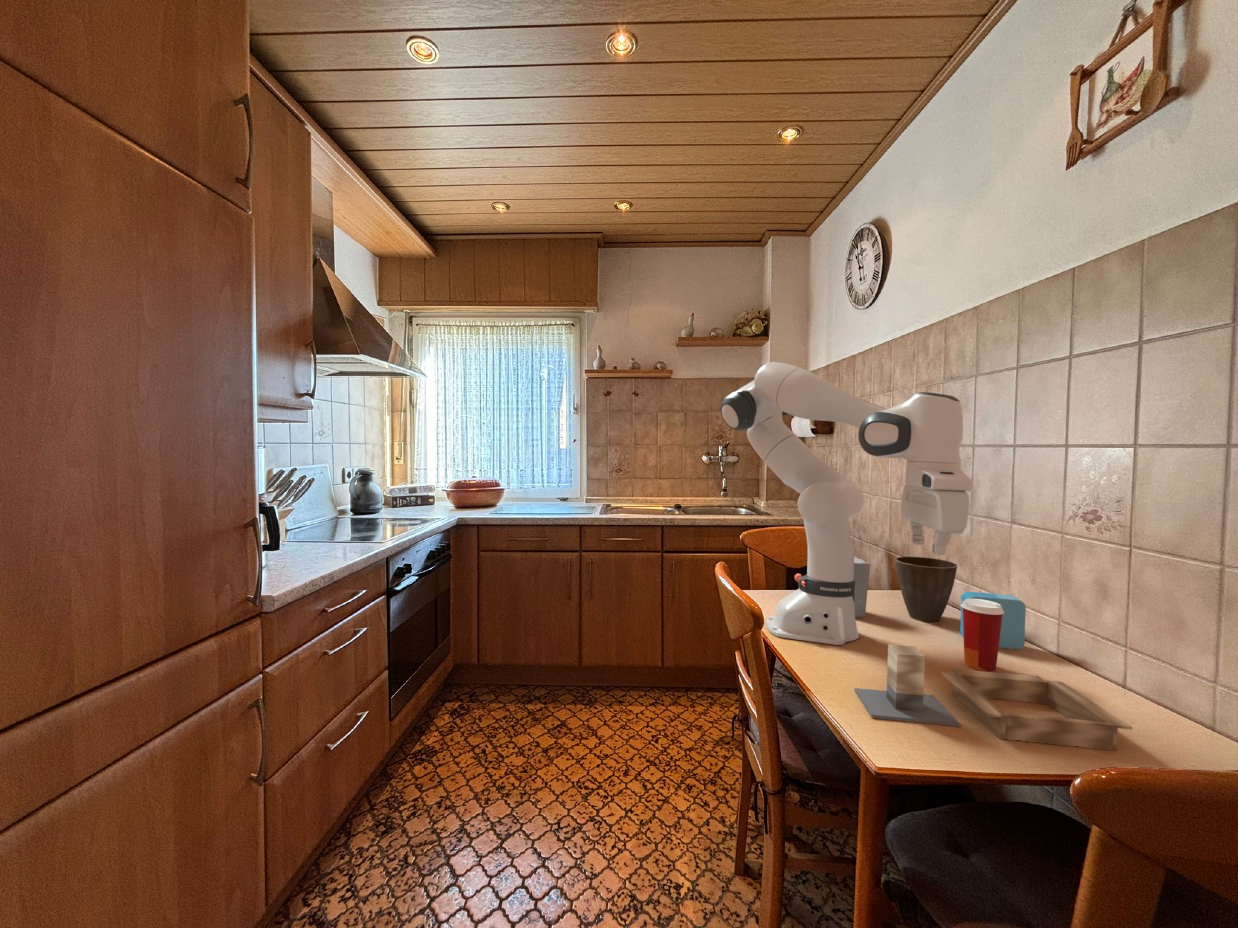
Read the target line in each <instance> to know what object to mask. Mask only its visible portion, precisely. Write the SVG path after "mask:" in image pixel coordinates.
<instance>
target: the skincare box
mask: <svg viewBox="0 0 1238 928" xmlns="http://www.w3.org/2000/svg"><path fill="white" fill-rule="evenodd" d="M870 568H871V564H870V563H869V562H867V561H864V559H860V558H858V557H855V556H854V580H855V585H856V595H855V601H854V613H855V618H857V617H859V618H861V617H862V618H865V617H866V612H867V611H866V610H867V609H866V608H867V600H868V599H867V598H868V588H869V579H870V578H869V577H870Z"/></svg>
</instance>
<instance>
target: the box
mask: <svg viewBox="0 0 1238 928" xmlns="http://www.w3.org/2000/svg"><path fill="white" fill-rule="evenodd" d="M925 659H926V655H925V654H924V653H922V652H921V651H920V650H919V648H917V647H915V646H914V645H913V646H912V645H903V644H902V645H900V644H887V666H886V669H887V670H886V671H887V672H886V673H887V674H886V691H887V694H886V697H887V699H888V700H889V701H890V703H891V704H892V705H893V707H894V708H895V709H897V710H907V711H918V712H923V695H924V694H925V693H924V692H925V690H924V689H925V664H926V660H925Z"/></svg>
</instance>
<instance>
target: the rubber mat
mask: <svg viewBox="0 0 1238 928" xmlns="http://www.w3.org/2000/svg"><path fill="white" fill-rule="evenodd" d="M854 692H855V694H856V696H857V697H858V699H859V701H860V702H861V703H862V705H863V706H864V708H865V710H866V711H867V713H868V715H869V716H870V717H871V718H872V719H878V720H879V719H880V720H887V721H889V720H890V721H899V722H909V723H919V724H929V725H939V726H940V725H941V726H948V727H950V726H951V727H959V726H961V723H960V722H959V721H958V720H957V718H955V715H953V714H952V713H951V712H950V711H949V710H948V709H947V708H946V707H945V705H943V704H942V702H940V701H939V699H937V698H936V696H935V695H933V694H925V693H924V695H923V712H918V711H907V710H897V709H895V708H894V707H893V705H892V704H891V703H890V701H889V700H888V699H887V697H886V694H887V690H883V689H882V690H881V689H880V690H879V689H872V688H871V689H870V688H869V689H868V688H859V687H856V688H855V687H854Z"/></svg>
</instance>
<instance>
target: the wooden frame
mask: <svg viewBox="0 0 1238 928" xmlns="http://www.w3.org/2000/svg"><path fill="white" fill-rule="evenodd" d="M941 672H942V673H941V674H942V676H944V677H945V678H946V680H948V682H950V683H951V684H952V694H953V696H955V697H956V698H957V699H958V700H959V701H960V703H962V702H963V703H962V704H963V705H964V704H965V705H966V706H965V705H964V706H965V707H966V708H967V707H968V708H969V709H970V710H971V711H972V712H973V713H972V712H971V713H972V714H973V715H974V716H975V717H977V718H978V719H979V720H980V721H981V722H982V723H983V724H984V725H985V726H986V727H987V726H988V727H987V728H988V729H989V730H990V731H991V732H992V733H993V734H994V735H995V736H996V737H997V736H998V737H997V738H999V740H1005V739H1008V741H1015V740H1022V741H1021V742H1025V741H1029V743H1035V742H1041V743H1040V744H1045V743H1051V744H1050V745H1055V744H1056V745H1058V746H1065V745H1066V746H1067V747H1075V746H1079V747H1078V748H1086V749H1087V748H1088V749H1097V750H1104V751H1105V750H1106V751H1107V750H1108V751H1116V752H1117V751H1118V748H1117V747H1118V730H1119V729H1121V730H1122V729H1123V730H1133V726H1132V725H1130V724H1128V723H1127V722H1126V721H1123V720H1122V719H1121V718H1119V717H1118V716H1116V715H1115V714H1113V713H1111V712H1110V711H1108V710H1107V709H1105V708H1103V707H1102V706H1100V705H1099V704H1098V703H1095V702H1094V701H1092V700H1091V699H1089V698H1088V697H1087V696H1085V695H1083V694H1082V693H1080V692H1078V691H1077V690H1075V689H1074V688H1073V687H1071V686H1069V685H1068V684H1066V683H1065V682H1063V681H1054V680H1045V679H1043V678H1042V677H1041V676H1039V675H1033V674H1032V675H1030V674H1021V673H1020V674H1018V673H1009V672H1008V673H1006V672H994V671H992V672H987V671H980V670H969V669H959V668H958V669H957V668H956V669H955V668H953V669H952V672H944V671H941ZM990 699H993V700H1002V701H1014V702H1025V703H1026V702H1027V703H1037V704H1046V705H1048V706H1050V708H1052V709H1054V710H1055V711H1057V712H1058V713H1059V714H1060V715H1062V716H1063V717H1053V716H1042V715H1032V714H1022V713H1009V712H1004V711H1002V710H1001V709H1000V708H999V707H997V705H995V704H994V703H993V702H991V701H990ZM968 708H967V709H968ZM969 709H968V710H969ZM970 710H969V711H970ZM1024 740H1025V741H1024Z"/></svg>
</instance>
